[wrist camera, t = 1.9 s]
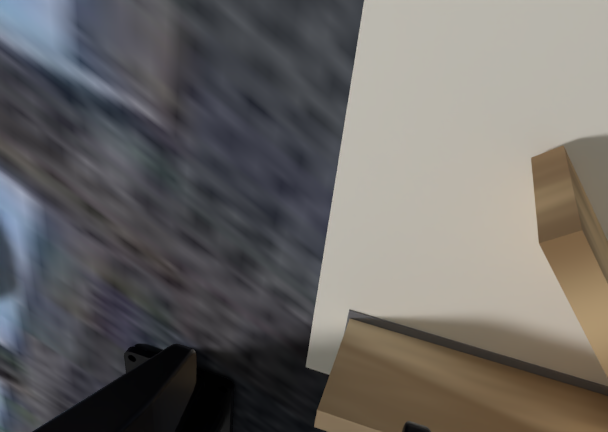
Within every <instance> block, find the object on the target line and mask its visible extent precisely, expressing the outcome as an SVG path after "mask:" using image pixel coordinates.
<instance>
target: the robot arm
mask: <svg viewBox="0 0 608 432" xmlns="http://www.w3.org/2000/svg"><path fill="white" fill-rule="evenodd" d="M124 359H125V367H126V374H124V375H122V376H121V377H119V378H118V379H116V380H114V381H113V382H111V383H110V384H108V385H106V386H105V387H103V388H102V389H100V390H98V391H97V392H95V393H94V394H92V395H90V396H89V397H87V398H86V399H84V400H82V401H81V402H79V403H77V404H76V405H74V406H73V407H71V408H69V409H68V410H66V411H65V412H63V413H61V414H60V415H58V416H57V417H55V418H53V419H52V420H50V421H49V422H47V423H45V424H44V425H42V426H41V427H39V428H37V429H36V430H34V431H33V432H232V424H233V406H234V384H233V382H232V381H231V380H230V379H227V378H225V377H222V376H219V375H216V374H213V373H210V372H207V371H204V370H201V369H199V368H196V352H195V350H194V349H192V348H189V347H186V346H183V345H180V344H173V345H171V346H169V347H167V348H166V349H164V350H163V351H161V352H159V353H158V354H154V353H151V352H148V351H145V350H142V349H140V348H137V347H130V348H128V350H127V351H126V352H125V353H124ZM402 432H431V430H430V429H429V428H428V427H427V426H424V425H421V424H418V423H415V422H412V421H407V422H406V423H405V424H404V427H403V430H402Z"/></svg>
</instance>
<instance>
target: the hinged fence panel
mask: <svg viewBox="0 0 608 432" xmlns="http://www.w3.org/2000/svg"><path fill="white" fill-rule="evenodd" d="M531 164H532V174H533V185H534V196H535V207H536V218H537V229H538V240H539V245H540V247H541V249H542V251H543V253H544V255H545V256H546V258H547V260H548V262H549V264H550V266H551V268H552V270H553V272H554V274H555V276H556V278H557V280H558V282H559V284H560V286H561V288H562V290H563V292H564V294H565V296H566V298H567V300H568V302H569V304H570V305H571V307H572V309H573V311H574V313H575V315H576V317H577V319H578V321H579V323H580V325H581V327H582V329H583V331H584V333H585V335H586V337H587V339H588V341H589V343H590V345H591V347H592V349H593V351H594V353H595V354H596V356H597V358H598V360H599V362H600V364H601V366H602V368H603V370H604V372H605V374H606V376H607V378H608V241H607V238H606V236H605V234H604V232H603V230H602V227H601V225H600V223H599V221H598V219H597V217H596V214H595V212H594V210H593V208H592V206H591V204H590V201H589V199H588V197H587V195H586V193H585V191H584V188H583V186H582V184H581V182H580V180H579V178H578V175H577V173H576V171H575V169H574V167H573V165H572V162H571V160H570V158H569V156H568V154H567V152H566V149H565V147H564V145H563V146H560V147H557V148H555V149H552V150H550V151H547V152H545V153H542V154H539V155H537V156H534V157H532V158H531Z"/></svg>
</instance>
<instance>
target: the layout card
mask: <svg viewBox="0 0 608 432" xmlns="http://www.w3.org/2000/svg"><path fill="white" fill-rule="evenodd" d="M563 145H564V147H565V149H566V152H567V154H568V156H569V158H570V160H571V162H572V165H573V167H574V169H575V171H576V173H577V175H578V178H579V180H580V182H581V184H582V186H583V188H584V191H585V193H586V195H587V197H588V199H589V201H590V204H591V206H592V208H593V210H594V212H595V214H596V217H597V219H598V221H599V223H600V225H601V227H602V230H603V232H604V234H605V236H606V238H607V241H608V0H364V6H363V12H362V18H361V24H360V31H359V37H358V43H357V49H356V55H355V62H354V68H353V74H352V80H351V87H350V93H349V99H348V105H347V112H346V118H345V124H344V130H343V137H342V143H341V149H340V155H339V162H338V168H337V174H336V180H335V186H334V193H333V199H332V205H331V211H330V218H329V224H328V230H327V236H326V243H325V249H324V255H323V261H322V268H321V274H320V280H319V286H318V292H317V299H316V305H315V311H314V317H313V324H312V330H311V336H310V342H309V349H308V355H307V361H306V367H307V368H310V369H313V370H316V371H319V372H322V373H325V374H328V375H330V372H331V370H332V367H333V364H334V361H335V358H336V356H337V353H338V350H339V347H340V344H341V341H342V339H343V336H344V333H345V330H346V327H347V325H348V322H349V319H354V320H357V321H360V322H364V323H367V324H370V325H374V326H377V327H380V328H384V329H387V330H390V331H394V332H397V333H400V334H404V335H407V336H410V337H414V338H417V339H420V340H423V341H427V342H430V343H433V344H437V345H440V346H443V347H447V348H450V349H453V350H457V351H460V352H463V353H467V354H470V355H473V356H477V357H480V358H483V359H487V360H490V361H493V362H497V363H500V364H503V365H507V366H510V367H513V368H517V369H520V370H523V371H527V372H530V373H533V374H537V375H540V376H543V377H547V378H550V379H553V380H556V381H560V382H563V383H566V384H570V385H573V386H576V387H580V388H583V389H586V390H590V391H593V392H596V393H600V394H603V395H606V396H608V378H607V376H606V374H605V372H604V370H603V368H602V366H601V364H600V362H599V360H598V358H597V356H596V354H595V353H594V351H593V349H592V347H591V345H590V343H589V341H588V339H587V337H586V335H585V333H584V331H583V329H582V327H581V325H580V323H579V321H578V319H577V317H576V315H575V313H574V311H573V309H572V307H571V305H570V304H569V302H568V300H567V298H566V296H565V294H564V292H563V290H562V288H561V286H560V284H559V282H558V280H557V278H556V276H555V274H554V272H553V270H552V268H551V266H550V264H549V262H548V260H547V258H546V256H545V255H544V253H543V251H542V249H541V247H540V245H539V240H538V229H537V218H536V207H535V196H534V185H533V174H532V164H531V158H532V157H534V156H537V155H539V154H542V153H545V152H547V151H550V150H552V149H555V148H557V147H560V146H563Z"/></svg>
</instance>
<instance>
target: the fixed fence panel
mask: <svg viewBox="0 0 608 432" xmlns="http://www.w3.org/2000/svg"><path fill="white" fill-rule="evenodd" d="M407 421H412V422H415V423H418V424H421V425H424V426H427V427H428V428H429V429H430V430H431V432H608V396H606V395H603V394H600V393H596V392H593V391H590V390H586V389H583V388H580V387H576V386H573V385H570V384H566V383H563V382H560V381H556V380H553V379H550V378H547V377H543V376H540V375H537V374H533V373H530V372H527V371H523V370H520V369H517V368H513V367H510V366H507V365H503V364H500V363H497V362H493V361H490V360H487V359H483V358H480V357H477V356H473V355H470V354H467V353H463V352H460V351H457V350H453V349H450V348H447V347H443V346H440V345H437V344H433V343H430V342H427V341H423V340H420V339H417V338H414V337H410V336H407V335H404V334H400V333H397V332H394V331H390V330H387V329H384V328H380V327H377V326H374V325H370V324H367V323H364V322H360V321H357V320H354V319H349V322H348V325H347V327H346V330H345V333H344V336H343V339H342V341H341V344H340V347H339V350H338V353H337V356H336V358H335V361H334V364H333V367H332V370H331V372H330V375H329V378H328V381H327V384H326V387H325V389H324V392H323V395H322V398H321V401H320V403H319V406H318V409H317V414H316V419H315V424H314V427H316V428H319V429H322V430H325V431H327V432H402V430H403V427H404V424H405V423H406V422H407Z"/></svg>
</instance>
